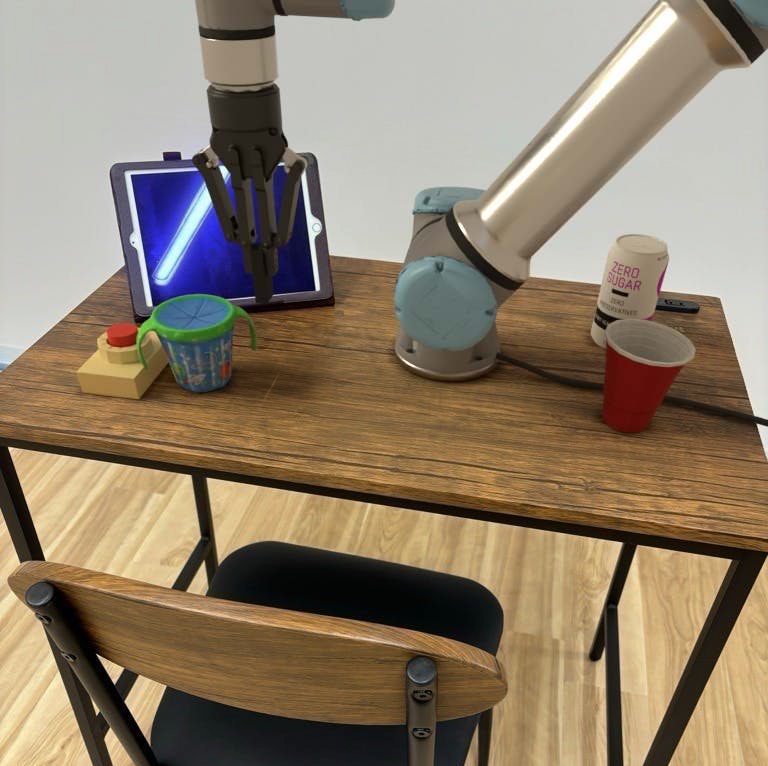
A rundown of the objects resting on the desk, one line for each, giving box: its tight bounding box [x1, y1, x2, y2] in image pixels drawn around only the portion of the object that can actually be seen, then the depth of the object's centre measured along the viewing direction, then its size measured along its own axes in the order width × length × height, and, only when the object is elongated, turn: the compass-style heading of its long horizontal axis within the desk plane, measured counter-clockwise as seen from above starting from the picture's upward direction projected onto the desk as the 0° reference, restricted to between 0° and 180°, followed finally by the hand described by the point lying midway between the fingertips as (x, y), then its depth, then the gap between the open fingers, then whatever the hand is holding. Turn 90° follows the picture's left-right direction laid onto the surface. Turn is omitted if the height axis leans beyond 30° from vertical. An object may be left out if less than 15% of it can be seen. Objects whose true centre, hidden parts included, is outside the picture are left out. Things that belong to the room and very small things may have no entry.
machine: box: [76, 327, 169, 400], centre depth 101 cm, size 13×8×5 cm, turn 170°
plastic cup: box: [602, 319, 697, 434], centre depth 92 cm, size 11×11×12 cm
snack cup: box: [137, 293, 259, 393], centre depth 98 cm, size 16×10×10 cm
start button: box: [106, 322, 139, 348], centre depth 99 cm, size 4×4×2 cm
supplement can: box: [590, 233, 670, 350], centre depth 107 cm, size 8×8×15 cm
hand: (264, 298), depth 91 cm, fingers closed
